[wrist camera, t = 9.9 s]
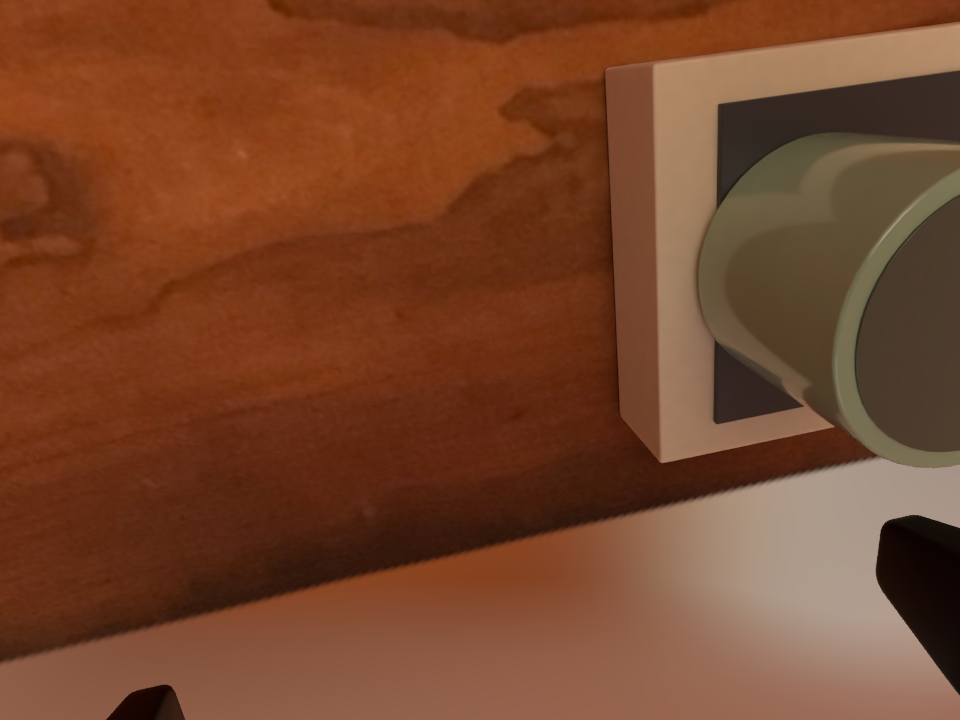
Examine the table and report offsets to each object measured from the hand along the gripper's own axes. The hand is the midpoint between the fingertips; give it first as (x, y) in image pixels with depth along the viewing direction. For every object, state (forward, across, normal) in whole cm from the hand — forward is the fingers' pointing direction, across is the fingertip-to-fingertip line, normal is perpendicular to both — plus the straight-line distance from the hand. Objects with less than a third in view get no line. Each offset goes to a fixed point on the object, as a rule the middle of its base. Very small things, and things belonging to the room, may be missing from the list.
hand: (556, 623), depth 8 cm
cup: (+8, -9, -1) cm, 12 cm away
